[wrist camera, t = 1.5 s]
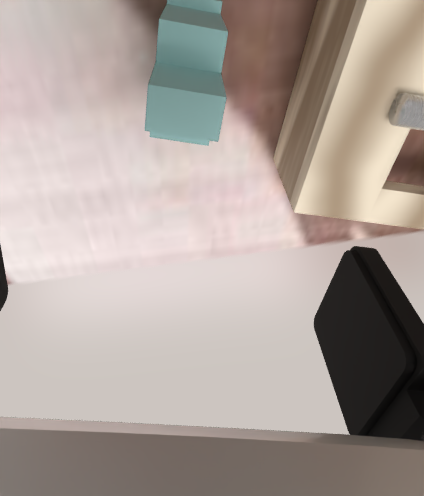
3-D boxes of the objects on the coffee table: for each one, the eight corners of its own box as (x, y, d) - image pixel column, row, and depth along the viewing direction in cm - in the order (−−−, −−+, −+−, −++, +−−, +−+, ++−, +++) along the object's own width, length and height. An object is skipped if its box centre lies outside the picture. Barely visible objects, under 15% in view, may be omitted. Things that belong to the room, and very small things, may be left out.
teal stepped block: (220, -1, 31) (239, 29, 18) (203, 109, 36) (208, 191, 24) (169, -12, 30) (153, 13, 18) (159, 102, 35) (141, 182, 23)
